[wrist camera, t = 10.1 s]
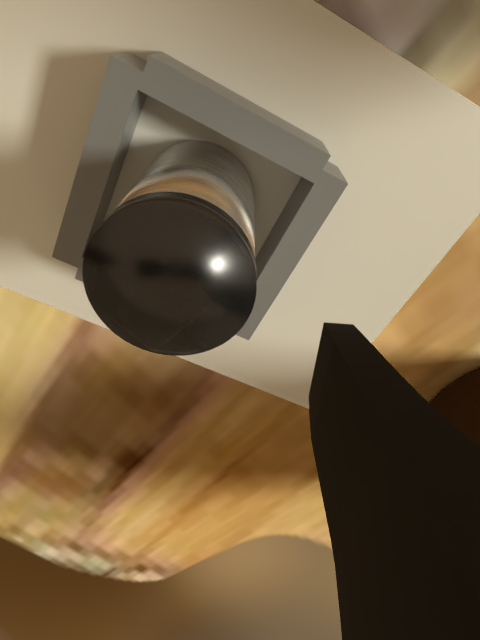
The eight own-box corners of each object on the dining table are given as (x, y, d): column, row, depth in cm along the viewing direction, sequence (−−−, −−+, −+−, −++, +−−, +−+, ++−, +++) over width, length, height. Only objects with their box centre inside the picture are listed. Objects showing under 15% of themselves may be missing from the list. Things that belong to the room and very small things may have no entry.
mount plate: (525, 138, 17) (574, 158, 14) (313, 400, 24) (320, 444, 22) (-25, -213, 12) (-98, -276, 10) (-76, 243, 20) (-125, 275, 17)
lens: (260, 141, 16) (262, 207, 10) (252, 255, 19) (251, 359, 13) (136, 135, 16) (68, 196, 10) (145, 249, 19) (94, 351, 13)
